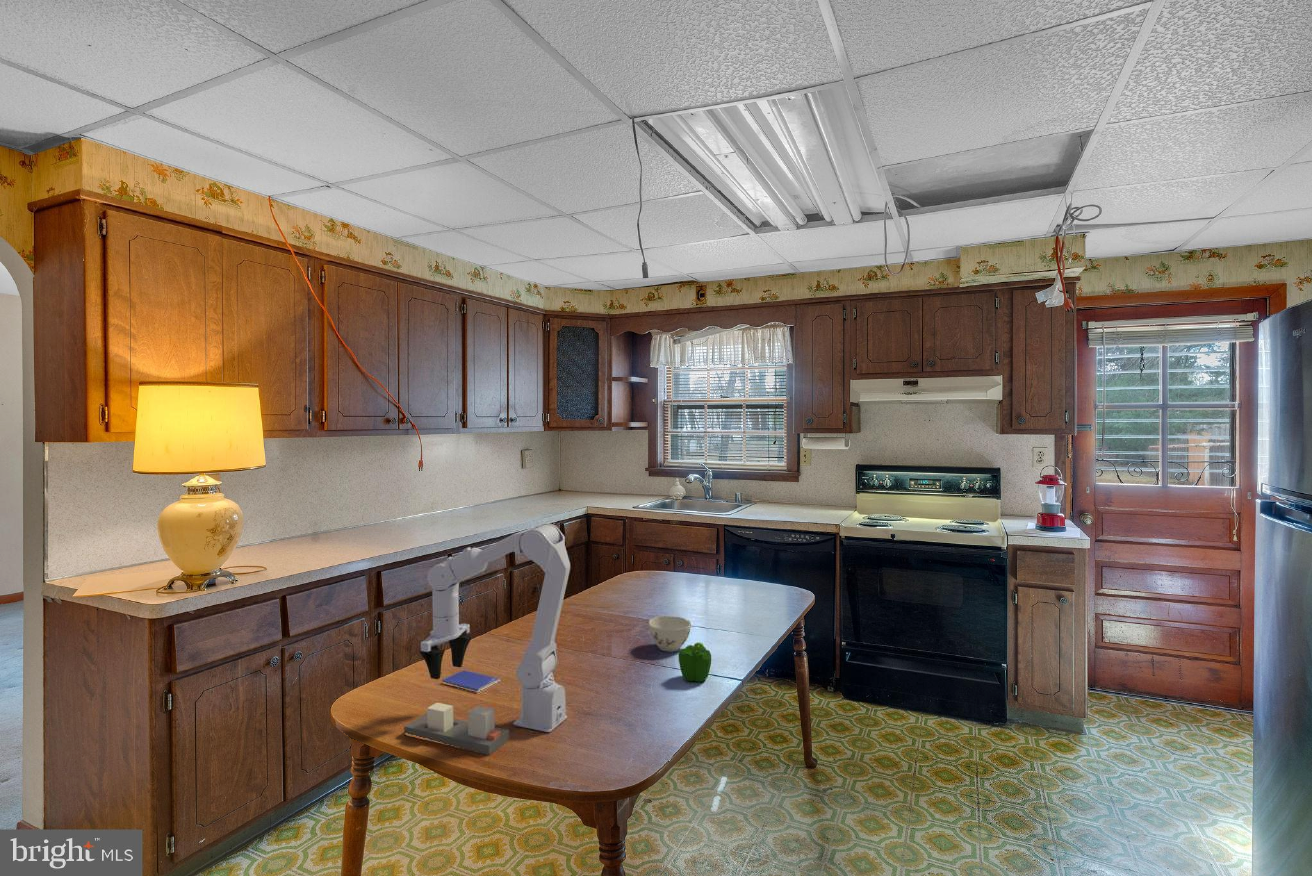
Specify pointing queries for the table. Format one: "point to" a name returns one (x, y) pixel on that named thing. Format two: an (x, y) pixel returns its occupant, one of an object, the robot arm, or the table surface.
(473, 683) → the blue book
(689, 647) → the bell pepper
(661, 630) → the teacup
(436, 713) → the plug
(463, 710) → the table surface
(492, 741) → the slotted gray plate
